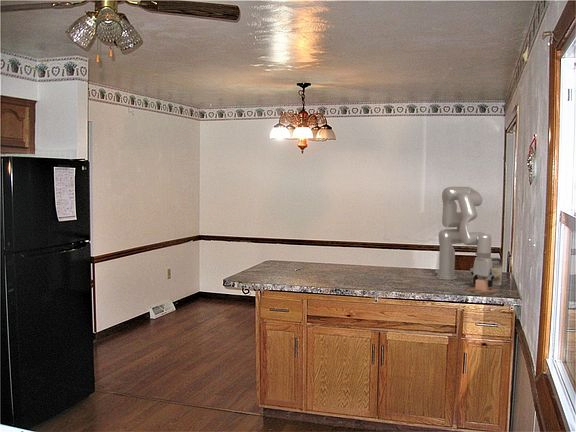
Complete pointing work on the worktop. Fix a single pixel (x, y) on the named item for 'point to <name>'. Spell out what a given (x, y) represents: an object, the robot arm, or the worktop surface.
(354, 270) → the worktop surface
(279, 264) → the worktop surface
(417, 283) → the worktop surface
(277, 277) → the worktop surface
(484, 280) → the cube
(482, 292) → the walnut board
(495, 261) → the coffee box
